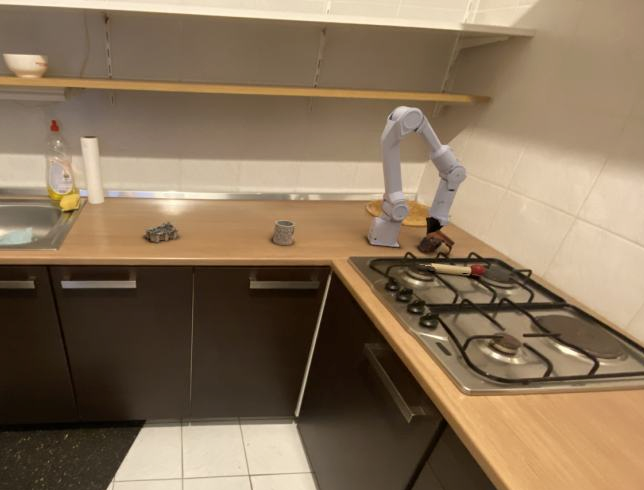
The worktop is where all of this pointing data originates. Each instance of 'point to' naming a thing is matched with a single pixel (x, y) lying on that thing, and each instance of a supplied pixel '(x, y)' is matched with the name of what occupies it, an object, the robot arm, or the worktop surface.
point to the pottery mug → (435, 242)
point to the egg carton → (162, 232)
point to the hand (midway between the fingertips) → (429, 238)
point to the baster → (459, 269)
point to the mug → (283, 232)
